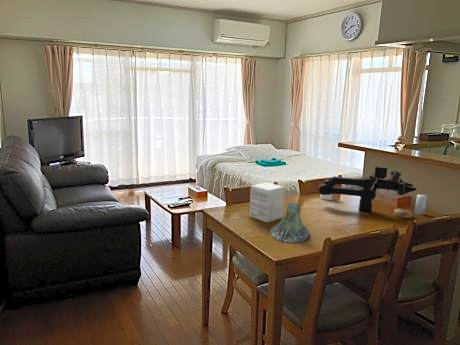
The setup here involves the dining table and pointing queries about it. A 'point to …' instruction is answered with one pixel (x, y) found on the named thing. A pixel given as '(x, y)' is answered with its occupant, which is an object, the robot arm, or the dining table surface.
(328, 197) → the medicine bottle
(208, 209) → the dining table surface
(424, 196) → the pale blue small block
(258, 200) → the supplement box
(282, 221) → the tree stump
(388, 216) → the dining table surface
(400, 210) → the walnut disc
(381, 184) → the robot arm
